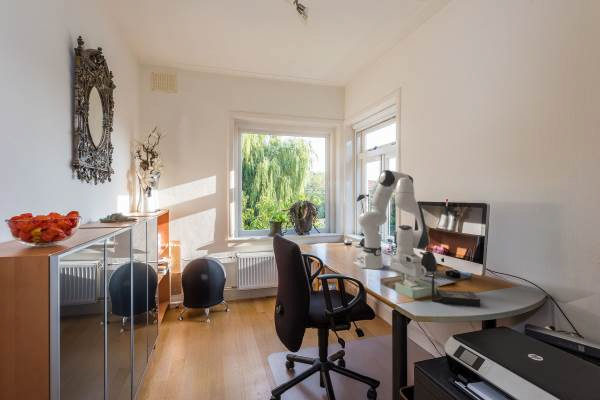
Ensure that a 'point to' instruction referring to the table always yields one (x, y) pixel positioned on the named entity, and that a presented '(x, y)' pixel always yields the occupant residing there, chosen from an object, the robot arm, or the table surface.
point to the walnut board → (392, 281)
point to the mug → (418, 277)
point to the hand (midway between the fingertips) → (404, 281)
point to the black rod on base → (455, 297)
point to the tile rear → (410, 283)
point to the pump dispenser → (429, 263)
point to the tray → (416, 290)
